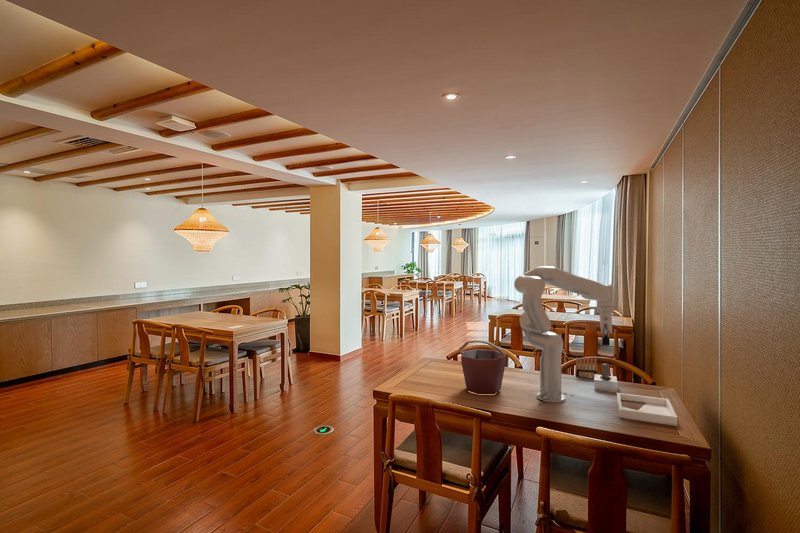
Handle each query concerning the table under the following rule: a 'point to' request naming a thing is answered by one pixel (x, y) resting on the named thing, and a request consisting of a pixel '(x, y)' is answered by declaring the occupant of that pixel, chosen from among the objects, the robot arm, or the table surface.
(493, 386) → the bucket
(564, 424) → the table surface
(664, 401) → the tray
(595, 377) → the block
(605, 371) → the pin
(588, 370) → the ammunition clip
